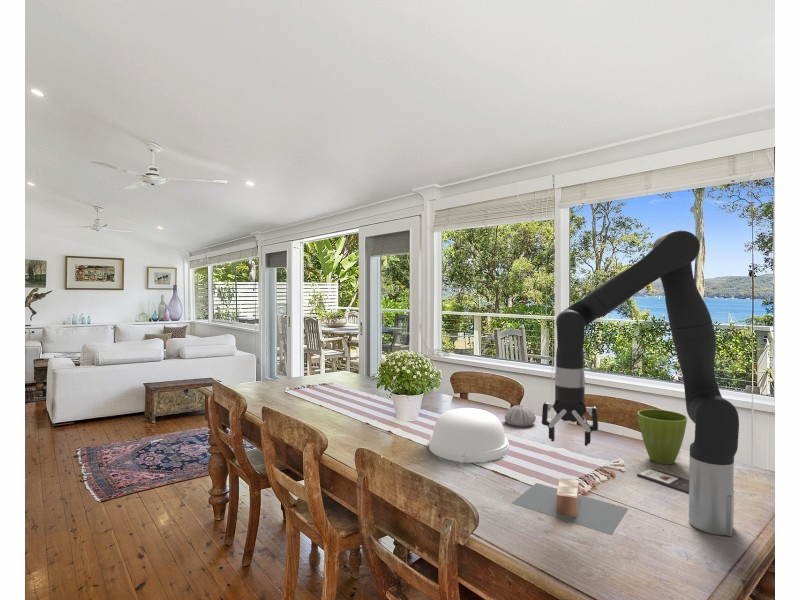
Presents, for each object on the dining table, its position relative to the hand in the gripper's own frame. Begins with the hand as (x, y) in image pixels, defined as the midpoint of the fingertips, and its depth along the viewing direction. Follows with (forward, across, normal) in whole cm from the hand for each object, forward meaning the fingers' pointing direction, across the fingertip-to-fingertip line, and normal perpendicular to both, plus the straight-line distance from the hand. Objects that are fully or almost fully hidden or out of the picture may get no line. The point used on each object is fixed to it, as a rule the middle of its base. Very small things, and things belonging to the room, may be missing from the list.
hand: (569, 442), depth 125 cm
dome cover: (+18, -38, +35) cm, 55 cm away
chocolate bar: (+19, +28, +30) cm, 46 cm away
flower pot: (+18, +27, +50) cm, 59 cm away
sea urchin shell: (+18, -26, +74) cm, 81 cm away
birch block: (+15, 0, +6) cm, 16 cm away
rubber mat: (+18, 0, 0) cm, 18 cm away
